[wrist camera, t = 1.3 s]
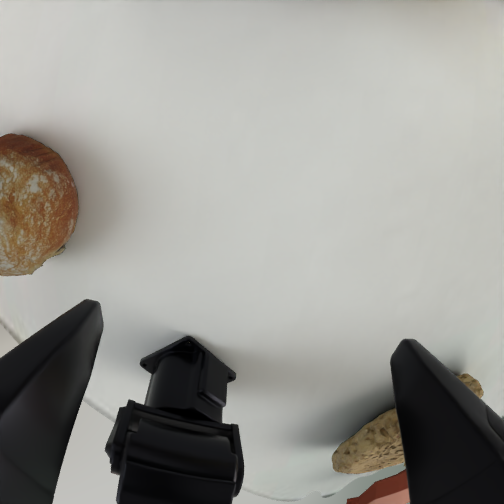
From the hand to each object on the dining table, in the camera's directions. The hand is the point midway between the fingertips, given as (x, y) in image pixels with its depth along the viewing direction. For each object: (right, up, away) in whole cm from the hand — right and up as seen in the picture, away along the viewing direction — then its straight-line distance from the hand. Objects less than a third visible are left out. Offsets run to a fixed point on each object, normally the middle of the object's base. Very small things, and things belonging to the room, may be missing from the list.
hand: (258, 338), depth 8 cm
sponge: (+19, -18, +25) cm, 36 cm away
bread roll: (-17, +7, +10) cm, 20 cm away
